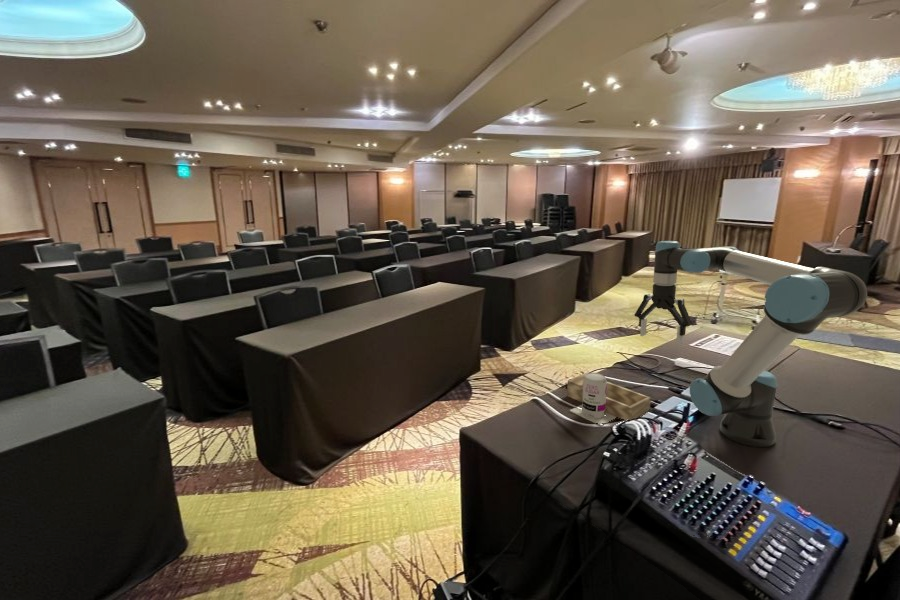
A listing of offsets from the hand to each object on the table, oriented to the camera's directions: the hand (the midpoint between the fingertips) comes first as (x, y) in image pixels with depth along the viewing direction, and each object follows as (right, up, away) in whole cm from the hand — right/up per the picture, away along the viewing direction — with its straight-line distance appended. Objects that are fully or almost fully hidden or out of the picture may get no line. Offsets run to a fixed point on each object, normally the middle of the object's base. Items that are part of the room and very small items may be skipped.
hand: (660, 339), depth 154 cm
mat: (-26, -28, 0) cm, 38 cm away
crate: (-17, -26, +8) cm, 32 cm away
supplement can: (-25, -28, -1) cm, 38 cm away
